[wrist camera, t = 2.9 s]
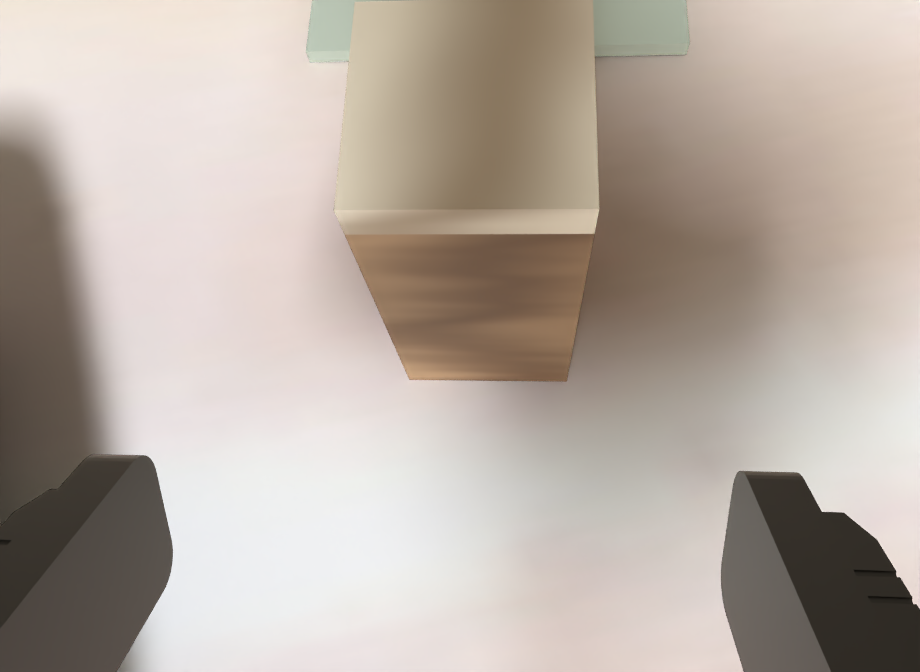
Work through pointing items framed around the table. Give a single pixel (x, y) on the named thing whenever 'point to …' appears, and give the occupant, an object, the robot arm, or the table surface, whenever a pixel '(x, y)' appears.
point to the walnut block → (472, 180)
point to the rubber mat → (615, 28)
